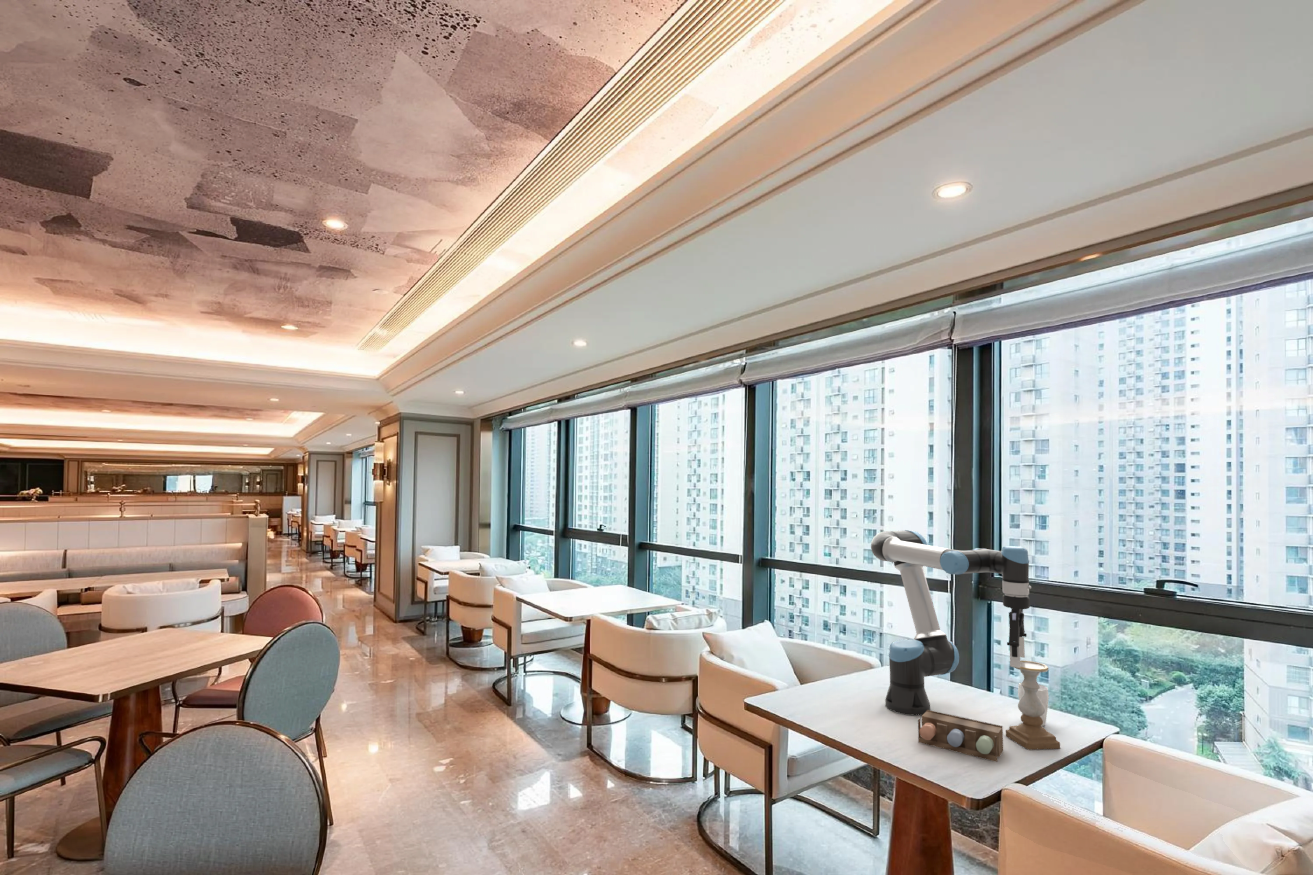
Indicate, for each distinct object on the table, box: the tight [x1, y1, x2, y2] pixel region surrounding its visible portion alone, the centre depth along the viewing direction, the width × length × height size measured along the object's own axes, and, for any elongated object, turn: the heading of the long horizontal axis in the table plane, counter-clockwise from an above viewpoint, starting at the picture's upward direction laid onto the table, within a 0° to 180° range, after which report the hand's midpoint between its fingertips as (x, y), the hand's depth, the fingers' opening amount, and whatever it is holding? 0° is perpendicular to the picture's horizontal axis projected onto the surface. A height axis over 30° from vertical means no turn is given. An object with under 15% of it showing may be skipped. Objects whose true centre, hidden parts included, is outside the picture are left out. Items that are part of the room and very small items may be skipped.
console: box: [917, 709, 1004, 763], centre depth 196 cm, size 22×10×7 cm, turn 52°
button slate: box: [947, 729, 964, 747], centre depth 192 cm, size 4×4×4 cm
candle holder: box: [1005, 659, 1061, 751], centre depth 200 cm, size 11×11×24 cm
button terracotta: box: [919, 723, 937, 740], centre depth 197 cm, size 4×4×4 cm
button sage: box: [976, 735, 994, 754], centre depth 187 cm, size 4×4×4 cm
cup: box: [1017, 682, 1050, 727], centre depth 216 cm, size 9×9×12 cm
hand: (1017, 661), depth 203 cm, fingers open, 13 cm apart
